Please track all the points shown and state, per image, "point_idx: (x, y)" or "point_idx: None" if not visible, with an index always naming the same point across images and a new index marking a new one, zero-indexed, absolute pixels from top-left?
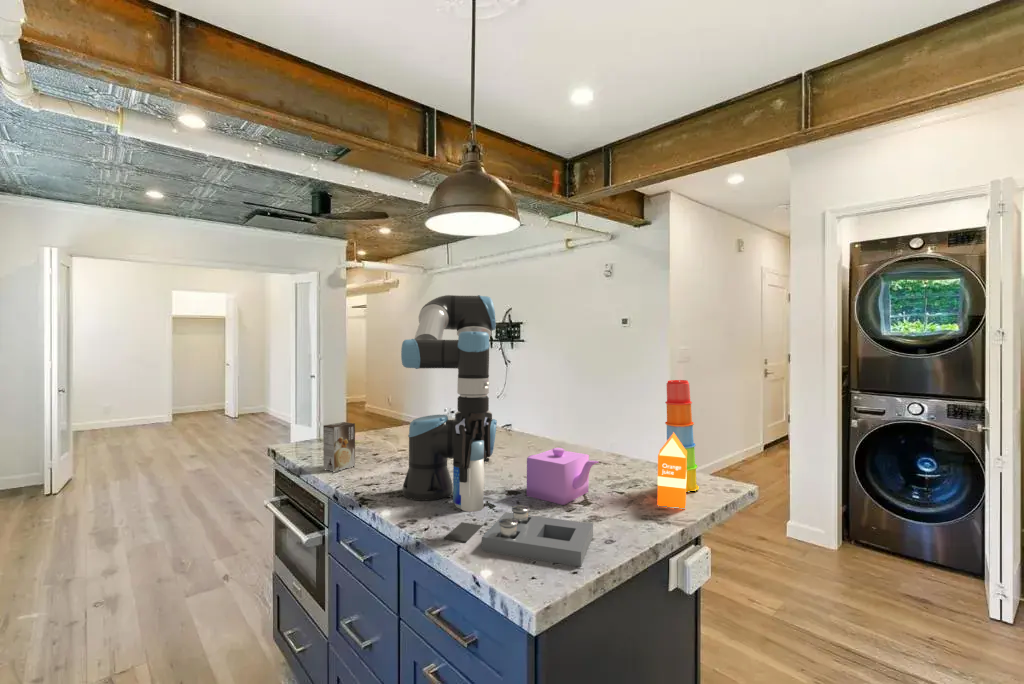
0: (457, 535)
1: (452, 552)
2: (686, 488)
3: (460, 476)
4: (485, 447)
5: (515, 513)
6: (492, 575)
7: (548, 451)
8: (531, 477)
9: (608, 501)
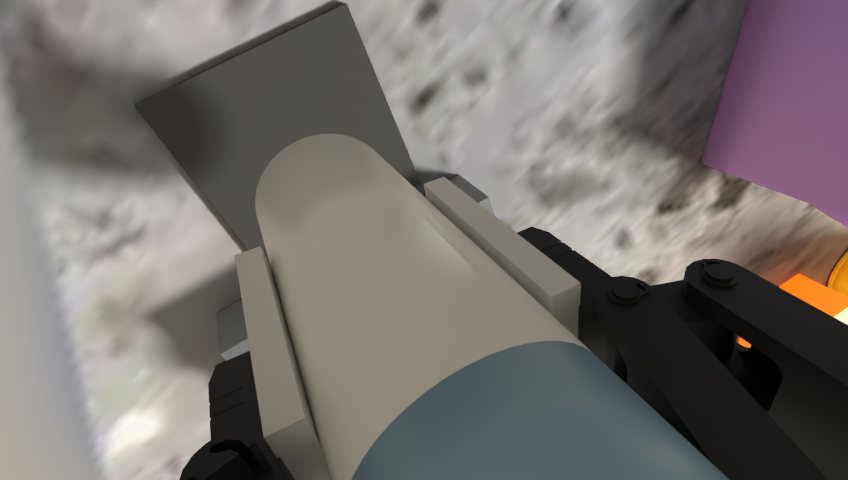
0: (219, 133)
1: (100, 251)
2: (839, 291)
3: (217, 421)
4: (771, 413)
5: None
6: (146, 446)
7: None
8: (845, 15)
9: (754, 224)
